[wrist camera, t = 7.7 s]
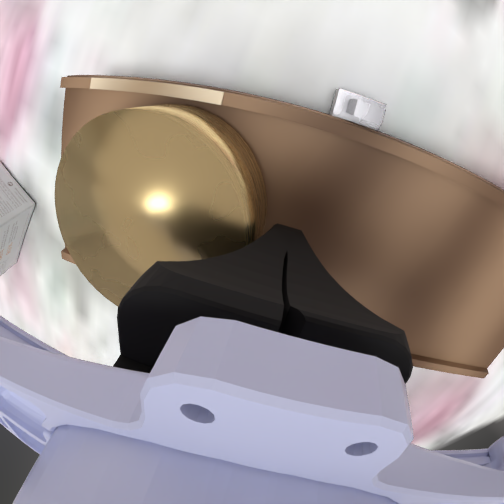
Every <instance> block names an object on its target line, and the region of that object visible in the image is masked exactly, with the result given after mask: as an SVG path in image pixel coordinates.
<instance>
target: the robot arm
mask: <svg viewBox="0 0 504 504" xmlns="http://www.w3.org/2000/svg"><path fill="white" fill-rule="evenodd" d="M117 322H118V333H119V343H120V352H121V355H120V356H119V358H118V360H117V361H116V363H115V364H114V366H113V367H112V366H107V365H102V364H98V363H93V362H89V361H85V360H80V359H76V358H72V357H69V356H67V355H65V354H63V353H61V352H60V351H58V350H56V349H54V348H52V347H51V346H49V345H47V344H45V343H43V342H42V341H40V340H38V339H37V338H35V337H33V336H32V335H30V334H28V333H27V332H25V331H23V330H22V329H20V328H18V327H17V326H15V325H14V324H12V323H11V322H9V321H8V320H6V319H5V318H3V317H2V316H0V423H1V424H2V425H3V426H4V427H5V428H7V429H8V430H9V431H10V432H11V433H13V434H14V435H15V436H16V437H17V438H19V439H20V440H21V441H23V442H24V443H25V444H27V445H28V446H29V447H30V448H32V449H33V450H34V451H36V452H37V453H39V454H40V456H39V457H38V459H37V461H36V462H35V464H34V466H33V468H32V469H31V471H30V473H29V475H28V477H27V478H26V480H25V482H24V484H23V485H22V487H21V489H20V491H19V493H18V495H17V496H16V498H15V500H14V502H13V504H504V436H503V437H501V438H500V439H498V440H497V441H496V442H494V443H493V444H492V445H491V446H490V447H489V448H488V449H475V450H446V451H445V450H443V451H442V450H428V449H425V448H422V447H419V446H416V445H414V444H411V442H412V440H413V439H414V436H413V429H412V422H411V415H410V409H409V403H408V397H407V391H406V385H405V384H406V382H407V381H408V379H409V378H410V376H411V372H412V368H413V363H412V356H411V352H410V348H409V344H408V341H407V337H406V334H405V331H404V330H402V329H400V328H398V327H397V326H395V325H393V324H391V323H389V322H388V321H386V320H384V319H382V318H381V317H379V316H378V315H376V314H375V313H373V312H372V311H370V310H369V309H367V308H366V307H365V306H363V305H362V304H361V303H359V302H358V301H357V300H356V299H354V298H353V297H352V296H351V295H350V294H349V293H348V292H346V291H345V290H344V289H343V288H342V287H341V286H340V285H339V284H338V283H337V282H336V281H335V279H334V278H333V277H332V276H331V275H330V274H329V273H328V271H327V270H326V269H325V268H324V266H323V265H322V263H321V262H320V261H319V259H318V258H317V256H316V255H315V253H314V252H313V250H312V248H311V247H310V245H309V243H308V241H307V239H306V238H305V236H304V234H303V232H302V230H299V229H295V228H292V227H288V226H285V225H282V224H278V223H277V224H275V225H273V227H272V228H271V229H270V230H269V231H267V232H266V233H265V234H264V235H262V236H261V237H259V238H258V239H257V240H255V241H253V242H252V243H250V244H248V245H246V246H245V247H243V248H241V249H239V250H236V251H234V252H231V253H228V254H224V255H220V256H216V257H212V258H207V259H201V260H192V261H157V262H155V263H154V264H153V265H152V266H151V267H150V268H149V269H148V270H147V271H145V273H144V274H143V275H142V276H141V277H140V278H139V279H138V280H137V281H136V282H135V284H134V285H133V286H132V287H131V288H130V290H129V291H128V292H127V293H126V294H125V296H124V297H123V298H122V300H121V302H120V304H119V306H118V314H117Z"/></svg>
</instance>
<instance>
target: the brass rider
mask: <svg viewBox="0 0 504 504" xmlns="http://www.w3.org/2000/svg"><path fill="white" fill-rule="evenodd" d="M55 207H56V214H57V219H58V224H59V228H60V231H61V234H62V237H63V240H64V242H65V244H66V247H67V249H68V251H69V253H70V255H71V257H72V258H73V260H74V262H75V263H76V265H77V266H78V268H79V269H80V271H81V272H82V274H83V275H84V276H85V277H86V279H87V280H88V281H89V282H90V283H91V284H92V285H93V286H94V287H95V288H96V289H97V290H98V291H99V292H100V293H101V294H102V295H103V296H104V297H106V298H107V299H108V300H110V301H111V302H112V303H114V304H115V305H117V306H119V304H120V302H121V300H122V298H123V297H124V296H125V294H126V293H127V292H128V291H129V290H130V288H131V287H132V286H133V285H134V284H135V282H136V281H137V280H138V279H139V278H140V277H141V276H142V275H143V274H144V273H145V271H147V270H148V269H149V268H150V267H151V266H152V265H153V264H154V263H155V262H157V261H192V260H201V259H207V258H212V257H216V256H220V255H224V254H228V253H231V252H234V251H236V250H239V249H241V248H243V247H245V246H246V245H248V244H250V243H252V242H253V241H255V240H257V239H258V238H259V237H261V236H262V234H263V231H264V227H265V223H266V216H267V194H266V187H265V182H264V179H263V175H262V172H261V169H260V167H259V165H258V162H257V160H256V158H255V156H254V154H253V153H252V151H251V149H250V148H249V146H248V145H247V143H246V142H245V141H244V140H243V138H242V137H241V136H240V135H239V134H238V133H237V132H236V131H235V130H234V129H233V128H232V127H231V126H230V125H229V124H227V123H226V122H225V121H223V120H222V119H221V118H219V117H218V116H216V115H214V114H212V113H210V112H208V111H206V110H203V109H200V108H198V107H195V106H190V105H185V104H161V105H151V106H143V107H135V108H128V109H121V110H115V111H110V112H108V113H105V114H102V115H100V116H98V117H96V118H94V119H93V120H91V121H89V122H88V123H87V124H85V125H84V126H83V127H82V128H81V129H80V130H79V131H78V132H77V133H76V134H75V135H74V136H73V138H72V139H71V141H70V142H69V144H68V145H67V147H66V149H65V151H64V153H63V155H62V157H61V160H60V163H59V167H58V170H57V176H56V181H55Z"/></svg>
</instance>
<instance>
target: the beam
mask: <svg viewBox="0 0 504 504" xmlns="http://www.w3.org/2000/svg"><path fill="white" fill-rule="evenodd" d="M60 88H66V90H65V100H64V112H63V126H62V150H61V157H62V155H63V153H64V151H65V149H66V147H67V145H68V144H69V142H70V141H71V139H72V138H73V136H74V135H75V134H76V133H77V132H78V131H79V130H80V129H81V128H82V127H83V126H84V125H85V124H87V123H88V122H89V121H91V120H93V119H94V118H96V117H98V116H100V115H102V114H105V113H108V112H110V111H115V110H121V109H128V108H135V107H143V106H151V105H161V104H185V105H190V106H195V107H198V108H200V109H203V110H206V111H208V112H210V113H212V114H214V115H216V116H218V117H219V118H221V119H222V120H223V121H225V122H226V123H227V124H229V125H230V126H231V127H232V128H233V129H234V130H235V131H236V132H237V133H238V134H239V135H240V136H241V137H242V138H243V140H244V141H245V142H246V143H247V145H248V146H249V148H250V149H251V151H252V153H253V154H254V156H255V158H256V160H257V162H258V165H259V167H260V169H261V172H262V175H263V179H264V182H265V187H266V194H267V216H266V223H265V227H264V231H263V234H262V235H264V234H265V233H266V232H267V231H269V230H270V229H271V228H272V227H273V225H275V224H277V223H278V224H282V225H285V226H288V227H292V228H295V229H299V230H302V232H303V234H304V236H305V238H306V239H307V241H308V243H309V245H310V247H311V248H312V250H313V252H314V253H315V255H316V256H317V258H318V259H319V261H320V262H321V263H322V265H323V266H324V268H325V269H326V270H327V271H328V273H329V274H330V275H331V276H332V277H333V278H334V279H335V281H336V282H337V283H338V284H339V285H340V286H341V287H342V288H343V289H344V290H345V291H346V292H348V293H349V294H350V295H351V296H352V297H353V298H354V299H356V300H357V301H358V302H359V303H361V304H362V305H363V306H365V307H366V308H367V309H369V310H370V311H372V312H373V313H375V314H376V315H378V316H379V317H381V318H382V319H384V320H386V321H388V322H389V323H391V324H393V325H395V326H397V327H398V328H400V329H402V330H404V331H405V334H406V337H407V341H408V344H409V348H410V352H411V356H412V363H413V366H415V367H420V368H425V369H431V370H436V371H442V372H447V373H453V374H459V375H465V376H471V377H478V378H485V377H486V375H487V374H488V370H487V368H488V366H489V365H490V364H491V363H492V362H493V360H494V359H495V358H496V357H497V355H498V354H499V353H500V352H501V350H502V349H503V348H504V190H503V189H501V188H500V187H498V186H496V185H494V184H492V183H491V182H489V181H487V180H485V179H483V178H481V177H480V176H478V175H476V174H474V173H472V172H470V171H468V170H466V169H464V168H462V167H460V166H458V165H456V164H454V163H452V162H450V161H448V160H446V159H444V158H441V157H439V156H437V155H435V154H433V153H430V152H428V151H426V150H424V149H421V148H419V147H417V146H414V145H412V144H410V143H407V142H405V141H402V140H400V139H397V138H395V137H392V136H390V135H387V134H384V133H382V132H379V131H376V130H374V129H371V128H368V127H365V126H363V125H360V124H357V123H354V122H351V121H348V120H345V119H342V118H339V117H335V116H332V115H329V114H326V113H322V112H319V111H316V110H312V109H309V108H305V107H302V106H298V105H294V104H290V103H286V102H282V101H278V100H274V99H270V98H266V97H262V96H257V95H252V94H248V93H243V92H238V91H233V90H228V89H222V88H217V87H211V86H205V85H198V84H191V83H184V82H177V81H169V80H160V79H150V78H139V77H125V76H107V75H72V76H67V77H62V78H61V86H60ZM61 254H62V259H64V260H67V261H69V262H72V263H74V264H76V263H75V262H74V260H73V258H72V257H71V255H70V253H69V251H68V249H67V247H66V244H65V249H63V250H62V251H61Z"/></svg>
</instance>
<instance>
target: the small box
mask: <svg viewBox="0 0 504 504" xmlns="http://www.w3.org/2000/svg"><path fill="white" fill-rule="evenodd" d="M34 207H35V203H34V201H33V200H32V199H31V198H30V197H29V196H28V195H27V193H26V192H25V191H24V190H23V189H22V188H21V186H20V185H19V184H18V183H17V182H16V181H15V179H14V178H13V177H12V176H11V174H10V173H9V172H8V171H7V170H6V168H5V167H4V166H3V165H2V163H1V162H0V276H1V275H2V274H3V273H5V272H6V271H7V270H8V269H9V268H10V267H12V266H13V265H14V264H15V263H16V262H17V260H18V256H19V252H20V249H21V246H22V242H23V239H24V236H25V233H26V230H27V227H28V224H29V221H30V218H31V215H32V212H33V209H34Z"/></svg>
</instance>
